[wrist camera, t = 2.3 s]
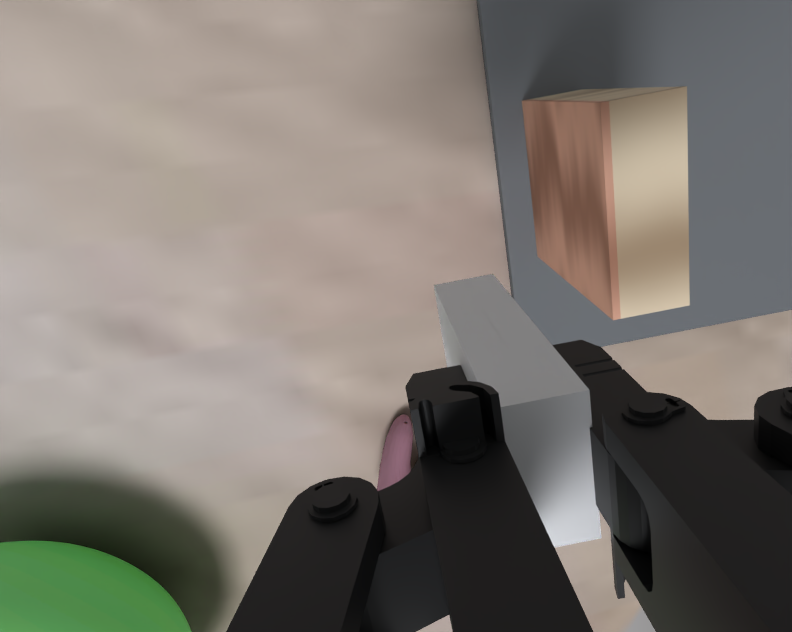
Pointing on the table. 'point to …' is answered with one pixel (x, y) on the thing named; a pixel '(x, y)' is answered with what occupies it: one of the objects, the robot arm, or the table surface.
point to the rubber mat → (707, 144)
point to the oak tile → (613, 194)
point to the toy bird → (79, 592)
